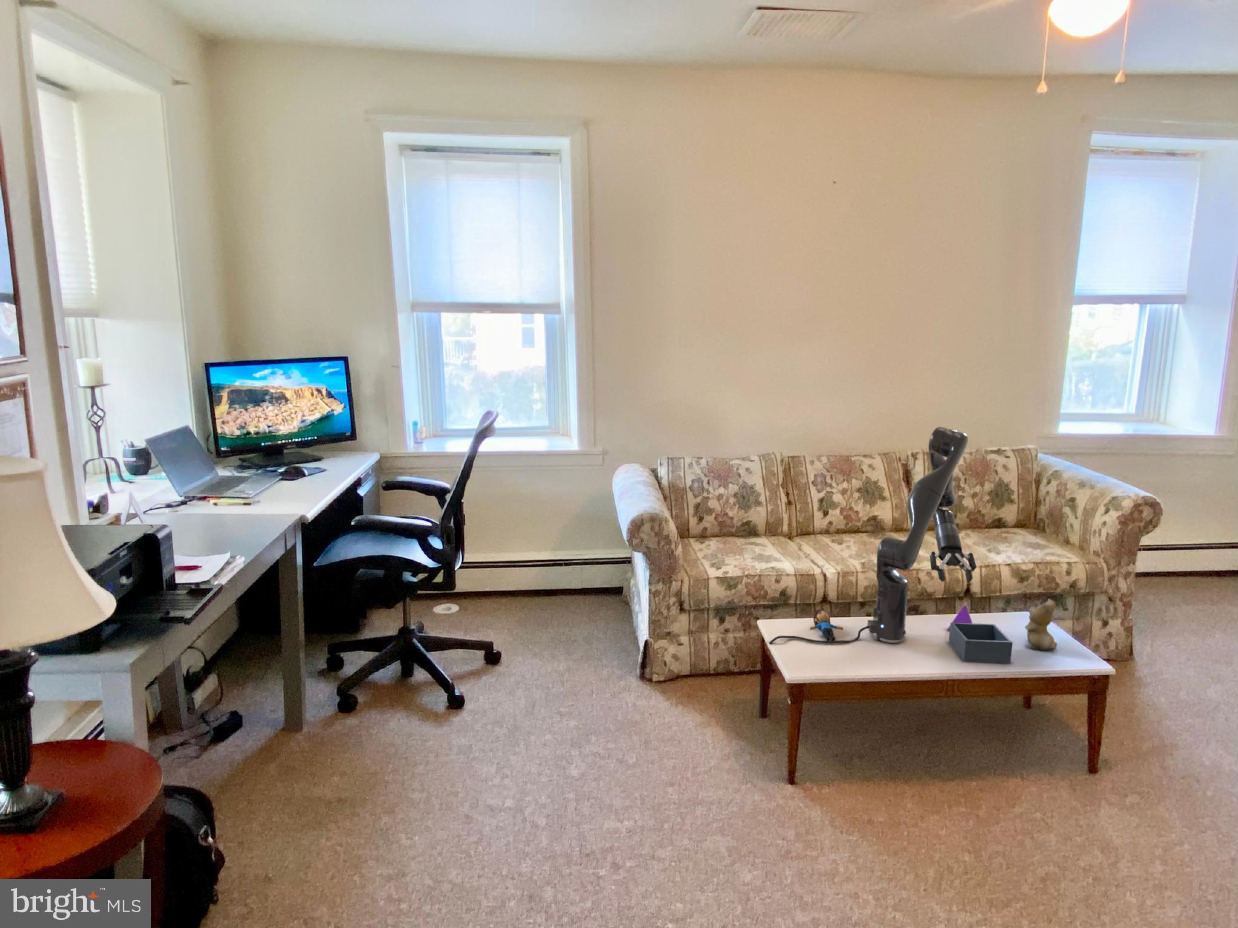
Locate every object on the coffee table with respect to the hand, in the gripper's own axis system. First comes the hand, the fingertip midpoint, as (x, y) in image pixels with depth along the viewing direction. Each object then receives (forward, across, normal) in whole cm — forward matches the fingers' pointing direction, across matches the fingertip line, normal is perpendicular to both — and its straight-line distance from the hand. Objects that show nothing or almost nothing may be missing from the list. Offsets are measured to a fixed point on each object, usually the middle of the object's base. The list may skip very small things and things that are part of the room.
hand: (956, 581), depth 254 cm
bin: (+27, 0, -6) cm, 28 cm away
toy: (+20, -45, +1) cm, 49 cm away
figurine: (+22, +21, -1) cm, 30 cm away
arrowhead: (+17, 0, +4) cm, 18 cm away
